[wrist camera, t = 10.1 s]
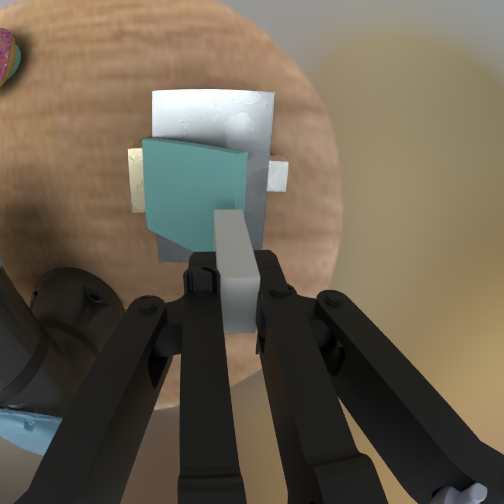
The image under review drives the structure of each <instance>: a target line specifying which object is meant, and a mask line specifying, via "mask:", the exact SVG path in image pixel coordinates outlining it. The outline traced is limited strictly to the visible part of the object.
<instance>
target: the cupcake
mask: <svg viewBox="0 0 504 504" xmlns="http://www.w3.org/2000/svg"><path fill="white" fill-rule="evenodd" d="M20 60H21V51H20V49H19V47H18V46H17V45H16V44H15V38H14V37H13V36H12V35H11V33H10V32H9V31H8V30H6V29H4V28H0V87H1V86H2V85H3V84H4V82H5V81H6V80H7V79H8V78H10V77H11V76H12V75H13V74H14V73H15V72H16V70H17V69H18V67H19V64H20Z"/></svg>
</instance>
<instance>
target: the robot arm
mask: <svg viewBox="0 0 504 504" xmlns="http://www.w3.org/2000/svg"><path fill="white" fill-rule="evenodd" d="M2 266H3V263H2V261H1V260H0V437H2V438H4V439H5V440H7V441H9V442H10V443H12V444H15V445H16V446H19V447H21V448H23V449H25V450H28V451H31V452H34V453H37V454H40V455H44V457H43V459H42V461H41V463H40V465H39V467H38V469H37V471H36V474H35V476H34V478H33V480H32V482H31V485H30V487H29V489H28V490H27V491H26V492H25V493H24V494H23V495H22V496H21V497H20V498H19V499H18V500H17V501H16V502H15V503H14V504H120V502H121V499H122V496H123V493H124V490H125V487H126V484H127V481H128V478H129V475H130V473H131V469H132V467H133V464H134V461H135V458H136V455H137V452H138V450H139V447H140V444H141V442H142V439H143V436H144V433H145V431H146V428H147V425H148V422H149V420H150V417H151V414H152V412H153V409H154V406H155V404H156V401H157V398H158V396H159V393H160V390H161V388H162V385H163V383H164V380H165V377H166V375H167V372H168V370H169V367H170V365H171V362H172V359H173V355H177V354H181V373H180V475H179V478H178V504H247V503H246V496H245V489H244V484H243V478H242V475H241V473H240V467H239V460H238V452H237V445H236V438H235V429H234V421H233V413H232V404H231V395H230V386H229V377H228V368H227V358H226V348H225V338H224V334H230V333H254V332H255V330H256V326H257V330H258V335H257V344H256V354H258V352H259V355H260V360H261V365H262V370H263V375H264V380H265V385H266V389H267V394H268V399H269V404H270V409H271V413H272V419H273V424H274V428H275V433H276V438H277V443H278V447H279V452H280V457H281V462H282V466H283V471H284V475H285V480H286V485H287V490H288V504H388V501H387V499H386V496H385V493H384V490H383V487H382V485H381V482H380V480H379V477H378V474H377V471H376V469H375V466H374V464H373V462H372V460H371V458H370V457H369V456H367V455H366V454H363V453H360V452H359V451H358V450H357V448H356V445H355V442H354V440H353V437H352V434H351V432H350V429H349V426H348V423H347V421H346V418H345V415H344V413H343V410H342V407H341V405H340V402H339V399H340V400H341V402H342V403H343V404H344V406H345V407H346V409H347V410H348V412H349V413H350V414H351V416H352V417H353V419H354V420H355V421H356V423H357V424H358V426H359V427H360V428H361V430H362V431H363V433H364V434H365V435H366V437H367V438H368V440H369V441H370V442H371V444H372V445H373V447H374V448H375V449H376V451H377V452H378V454H379V455H380V456H381V458H382V459H383V460H384V462H385V463H386V465H387V466H388V468H389V469H390V470H391V472H392V473H393V474H394V476H395V477H396V479H397V480H398V481H399V483H400V484H401V485H402V487H403V488H404V489H405V490H406V491H407V493H408V494H409V495H410V496H411V497H412V498H413V499H414V500H415V501H416V502H417V503H418V504H504V455H503V454H502V453H500V452H498V451H497V450H495V449H493V448H491V447H490V446H488V445H486V444H485V443H483V442H481V441H480V440H479V439H478V437H477V436H476V435H475V434H474V433H473V432H472V430H471V429H470V428H469V427H468V426H467V425H466V424H465V422H464V421H463V420H462V419H461V418H460V417H459V415H458V414H457V413H456V412H455V411H454V410H453V409H452V408H451V406H450V405H449V404H448V403H447V402H446V401H445V400H444V399H443V397H441V395H440V394H439V393H438V392H437V391H436V390H435V389H434V387H433V386H432V385H431V384H430V383H429V382H428V381H427V380H426V379H425V378H424V376H423V375H422V374H421V373H420V372H419V371H418V370H417V369H416V368H415V367H414V366H413V365H412V364H411V362H410V361H409V360H408V359H407V358H406V357H405V356H404V355H403V354H402V353H401V352H400V351H399V350H398V348H396V346H395V345H394V344H393V343H392V342H391V341H390V340H389V339H388V338H387V337H386V336H385V335H384V334H383V333H382V332H381V331H380V330H379V329H378V327H377V326H376V325H375V324H374V323H373V322H372V321H371V320H370V319H369V318H368V317H367V316H366V315H365V314H364V313H363V312H362V311H361V310H360V309H359V308H358V307H357V306H356V305H355V304H354V303H353V302H352V301H351V300H350V299H349V298H348V297H347V296H346V295H345V294H343V293H341V292H338V291H335V290H324V291H322V292H320V293H319V294H318V295H317V298H316V299H315V298H308V297H304V296H300V295H298V294H297V292H296V290H295V289H294V287H292V286H291V285H289V284H287V282H286V280H285V277H284V274H283V272H282V269H281V268H280V264H279V262H278V259H277V256H276V255H275V254H274V253H273V252H271V251H270V250H253V249H252V245H251V241H250V238H249V234H248V230H247V227H246V223H245V219H244V216H243V212H242V210H214V251H206V252H193V254H192V255H191V256H190V257H189V267H188V269H187V270H186V271H185V272H184V275H183V279H184V292H185V294H184V295H183V296H182V297H181V298H179V299H178V300H175V301H172V302H168V303H165V302H164V300H162V299H161V298H160V297H157V296H151V295H147V296H142V297H139V298H137V299H135V300H134V301H133V302H132V303H131V304H130V306H129V307H128V309H127V310H126V312H124V309H123V306H122V304H121V302H120V300H119V299H118V297H117V296H116V294H115V293H114V292H113V291H112V290H111V289H110V288H109V287H108V286H107V285H106V284H105V283H104V282H103V281H101V280H100V279H98V278H97V277H95V276H93V275H91V274H89V273H87V272H84V271H81V270H78V269H73V268H59V269H55V270H52V271H50V272H48V273H47V274H45V275H44V276H43V277H42V278H41V280H40V281H39V282H38V284H37V286H36V287H35V289H34V291H33V293H32V297H31V303H30V308H29V307H28V306H27V304H26V303H25V301H24V300H23V298H22V297H21V295H20V294H19V292H18V291H17V290H16V288H15V286H14V285H13V283H12V282H11V280H10V279H9V277H8V275H7V274H6V272H5V270H4V269H3V267H2ZM337 396H338V397H339V399H338V397H337Z"/></svg>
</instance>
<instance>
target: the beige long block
mask: <svg viewBox="0 0 504 504" xmlns="http://www.w3.org/2000/svg"><path fill="white" fill-rule="evenodd" d="M128 160H129V178H130V192H131V204H132V213H143V212H146V210H145V196H144V179H143V154H142V139H141V140H139V141H138V142H137V143H135V144H134V145H133V146H131V147H130V148H129V149H128ZM288 164H289V162H288V161H287V160H286V159H285V158H284V157H282V156H279V155H270V158H269V171H268V183H267V191H279V192H286V184H287V174H288Z"/></svg>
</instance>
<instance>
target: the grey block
mask: <svg viewBox="0 0 504 504" xmlns="http://www.w3.org/2000/svg"><path fill="white" fill-rule="evenodd" d="M273 107H274V92H261V91H244V90H213V89H191V90H160V91H153V102H152V138H160V139H168V140H175V141H183V142H190V143H197V144H203V145H209V146H215V147H221V148H227V149H233V150H238V151H244V152H248V156H247V173H246V190H245V208H244V219H245V223H246V227H247V230H248V234H249V238H250V241H251V245H252V249H253V250H262V242H263V231H264V219H265V207H266V195H267V183H268V171H269V158H270V146H271V133H272V120H273ZM157 242H158V253H159V262H189V257H190V256H191V255H192V254H193V252H194V251H191V250H189V249H187V248H185V247H183V246H181V245H179V244H177V243H175V242H173V241H171V240H169V239H167V238H165V237H163V236H161V235H159V234H157Z"/></svg>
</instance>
